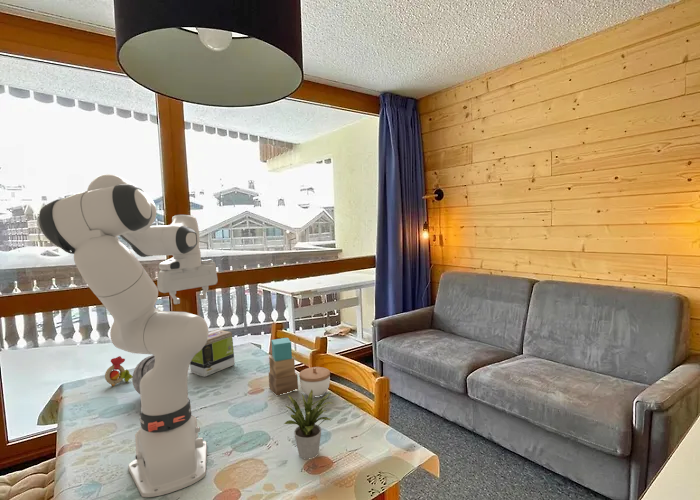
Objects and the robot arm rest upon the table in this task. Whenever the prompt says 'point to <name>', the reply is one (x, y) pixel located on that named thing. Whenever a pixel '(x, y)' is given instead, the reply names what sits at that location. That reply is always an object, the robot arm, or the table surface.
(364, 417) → the table surface
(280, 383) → the tower bottom
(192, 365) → the tea box
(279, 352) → the teal block
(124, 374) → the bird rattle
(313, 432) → the house plant
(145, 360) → the decorative orb
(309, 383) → the lidded jar
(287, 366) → the block
